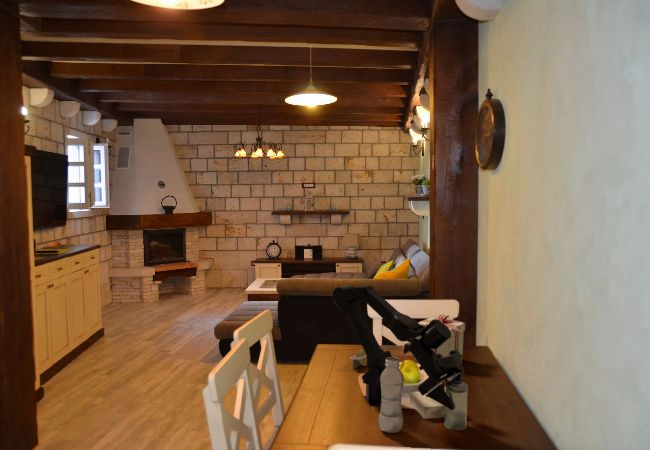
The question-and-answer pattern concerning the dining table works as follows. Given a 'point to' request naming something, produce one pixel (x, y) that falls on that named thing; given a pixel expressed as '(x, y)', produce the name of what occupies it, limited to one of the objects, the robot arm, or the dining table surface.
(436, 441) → the dining table surface
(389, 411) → the plastic bottle
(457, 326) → the gift box
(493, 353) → the dining table surface
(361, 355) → the open flap box
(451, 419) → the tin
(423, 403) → the base block
